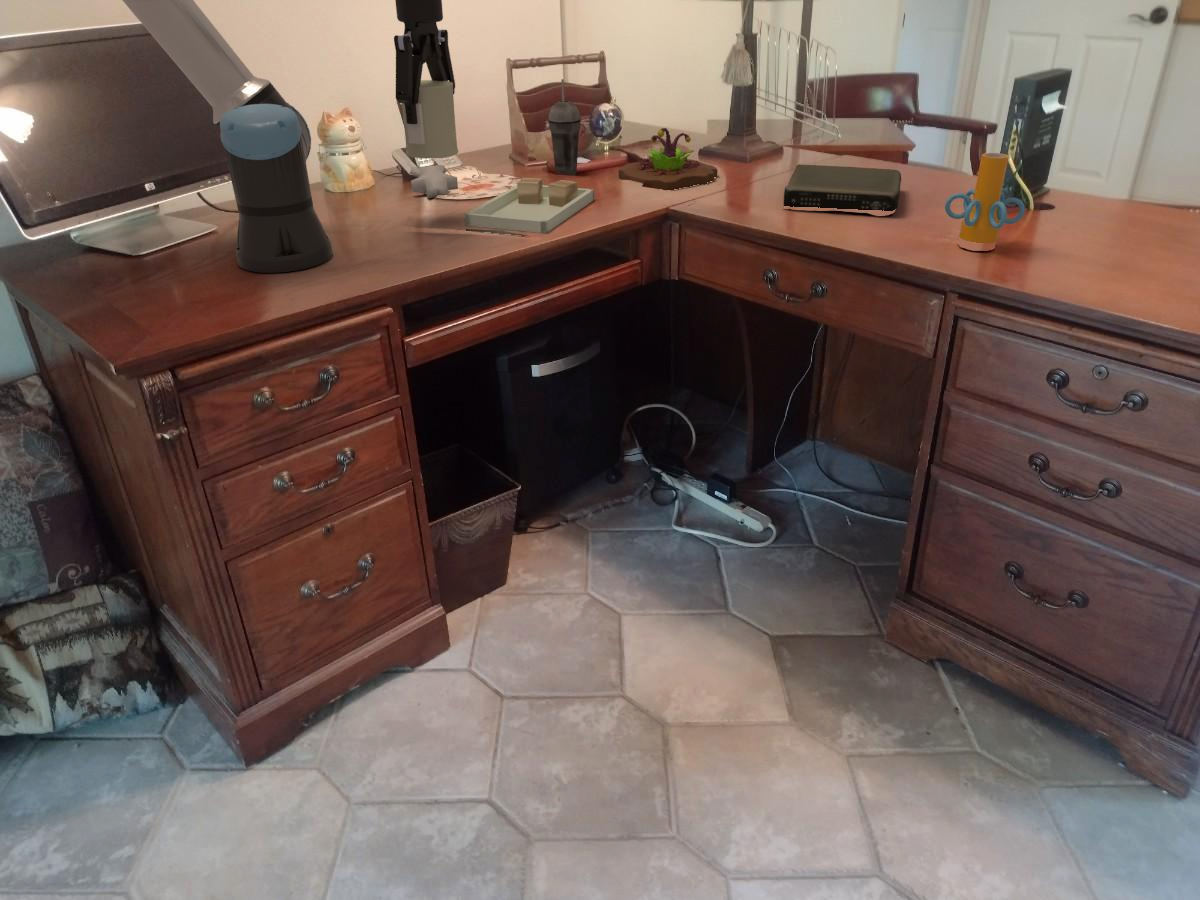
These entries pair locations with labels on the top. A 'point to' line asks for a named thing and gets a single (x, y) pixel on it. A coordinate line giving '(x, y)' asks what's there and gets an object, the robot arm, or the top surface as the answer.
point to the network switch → (843, 188)
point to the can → (435, 121)
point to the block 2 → (562, 192)
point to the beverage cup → (565, 135)
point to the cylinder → (986, 202)
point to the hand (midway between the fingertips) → (430, 138)
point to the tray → (524, 213)
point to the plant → (668, 167)
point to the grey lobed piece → (432, 180)
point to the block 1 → (530, 191)
